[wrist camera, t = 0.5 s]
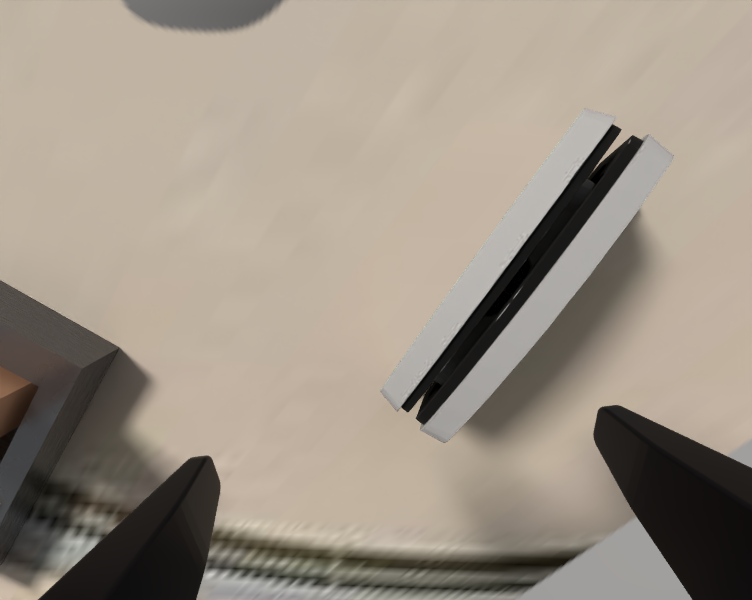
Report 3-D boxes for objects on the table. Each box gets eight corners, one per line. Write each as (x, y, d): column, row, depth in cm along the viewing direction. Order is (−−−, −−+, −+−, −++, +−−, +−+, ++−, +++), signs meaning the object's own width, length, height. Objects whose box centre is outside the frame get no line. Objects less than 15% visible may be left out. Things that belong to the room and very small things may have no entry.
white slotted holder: (460, 415, 24) (445, 504, 15) (401, 370, 25) (351, 426, 16) (637, 192, 21) (768, 118, 11) (562, 150, 22) (624, 48, 12)
